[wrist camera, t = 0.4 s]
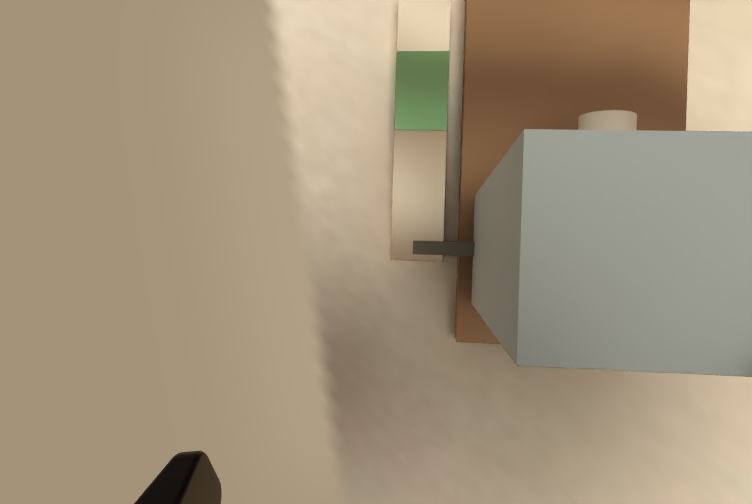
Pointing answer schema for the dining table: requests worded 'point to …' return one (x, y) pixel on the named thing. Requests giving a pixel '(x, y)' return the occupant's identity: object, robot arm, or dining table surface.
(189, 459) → the robot arm
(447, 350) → the dining table surface
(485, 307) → the gauge carriage
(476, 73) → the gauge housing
